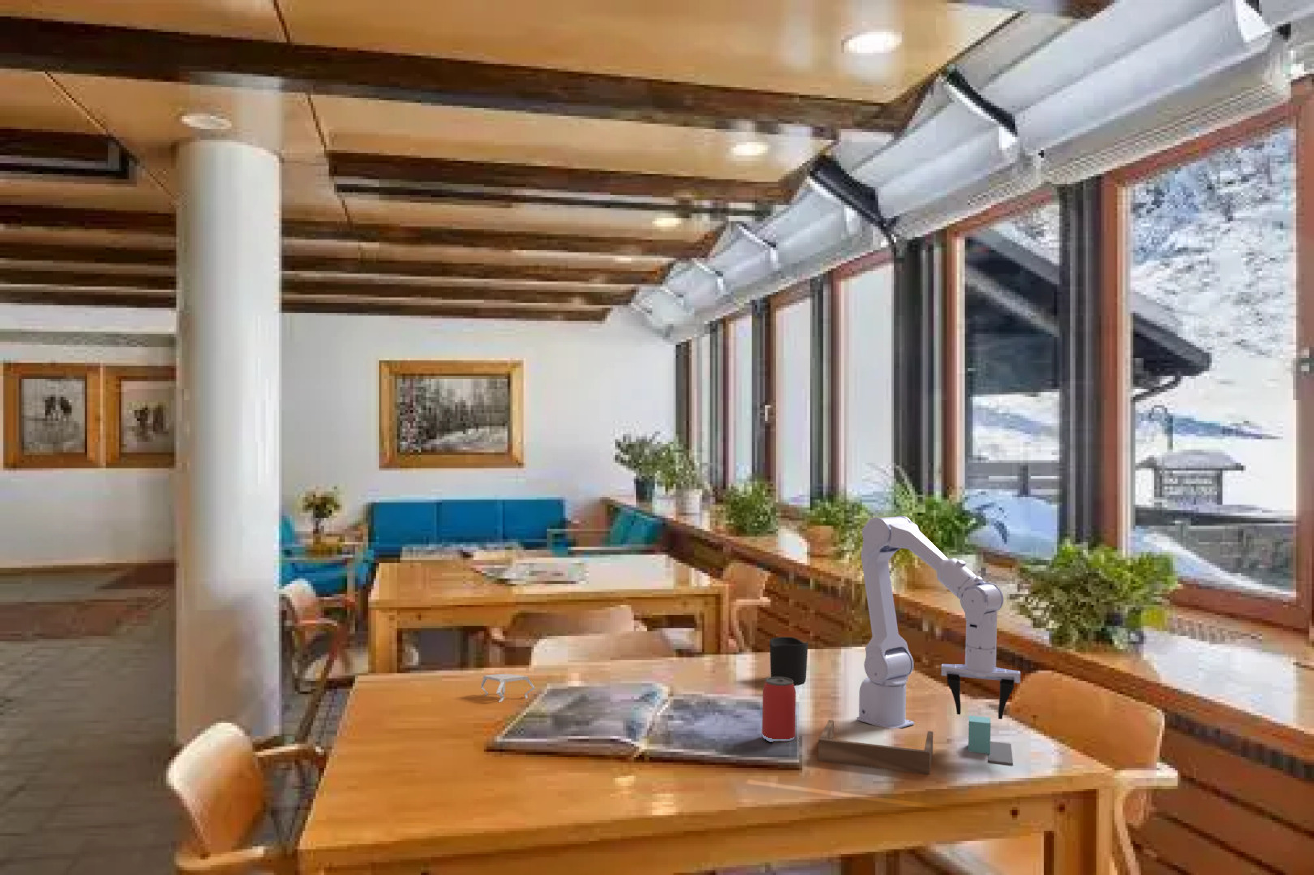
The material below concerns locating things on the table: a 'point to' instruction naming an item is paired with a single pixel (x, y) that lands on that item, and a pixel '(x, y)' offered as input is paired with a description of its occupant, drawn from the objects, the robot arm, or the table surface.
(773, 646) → the pen holder
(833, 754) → the walnut box
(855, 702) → the table surface
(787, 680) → the beer can
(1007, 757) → the charcoal mat
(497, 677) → the grey legged piece
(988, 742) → the teal block
